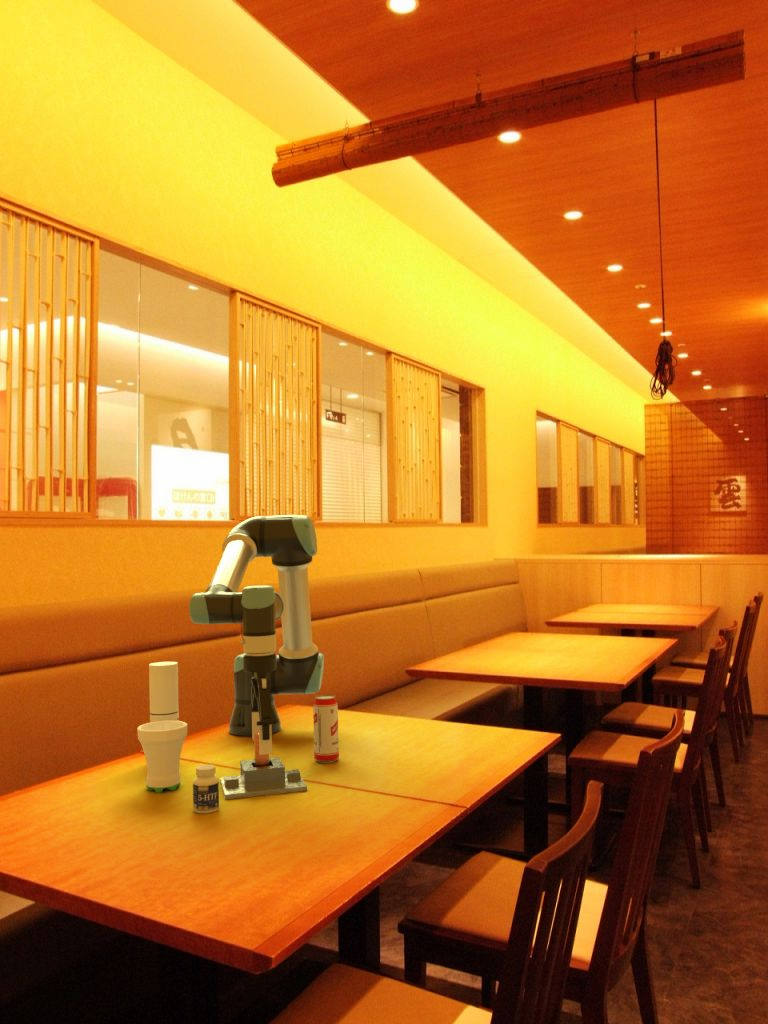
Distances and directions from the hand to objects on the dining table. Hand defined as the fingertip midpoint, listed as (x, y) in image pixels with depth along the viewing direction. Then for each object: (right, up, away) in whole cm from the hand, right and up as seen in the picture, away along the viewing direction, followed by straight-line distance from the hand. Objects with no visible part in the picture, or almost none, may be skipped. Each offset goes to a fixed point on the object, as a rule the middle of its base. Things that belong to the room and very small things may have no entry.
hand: (262, 746), depth 190 cm
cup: (-22, -10, 0) cm, 25 cm away
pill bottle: (-9, -9, -16) cm, 21 cm away
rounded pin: (0, -9, -1) cm, 9 cm away
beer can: (+13, -9, +20) cm, 26 cm away
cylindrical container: (-28, -11, +24) cm, 39 cm away
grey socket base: (0, -9, -1) cm, 9 cm away
